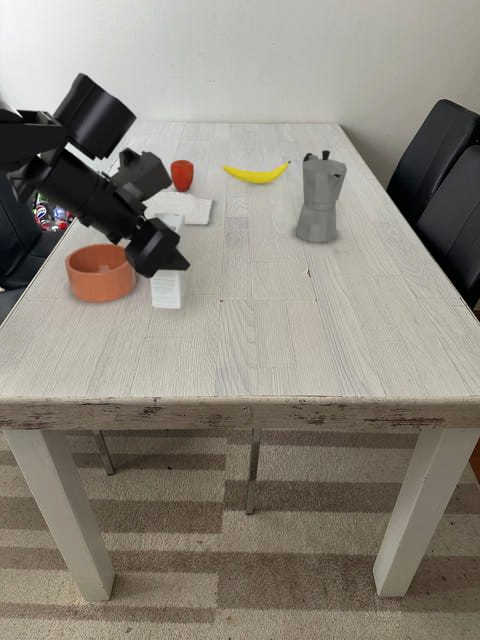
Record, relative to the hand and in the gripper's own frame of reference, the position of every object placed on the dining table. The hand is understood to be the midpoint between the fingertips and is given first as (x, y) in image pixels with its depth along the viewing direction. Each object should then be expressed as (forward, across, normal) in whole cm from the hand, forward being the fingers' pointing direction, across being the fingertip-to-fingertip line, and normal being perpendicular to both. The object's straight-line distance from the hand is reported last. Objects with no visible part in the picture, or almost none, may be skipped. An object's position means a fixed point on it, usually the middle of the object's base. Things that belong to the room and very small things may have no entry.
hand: (177, 256), depth 61 cm
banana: (+41, +51, -23) cm, 70 cm away
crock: (+5, +19, +14) cm, 24 cm away
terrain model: (+21, +45, -2) cm, 50 cm away
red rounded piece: (+28, +57, -9) cm, 64 cm away
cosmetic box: (+4, 0, +6) cm, 7 cm away
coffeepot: (+38, +18, -20) cm, 47 cm away
